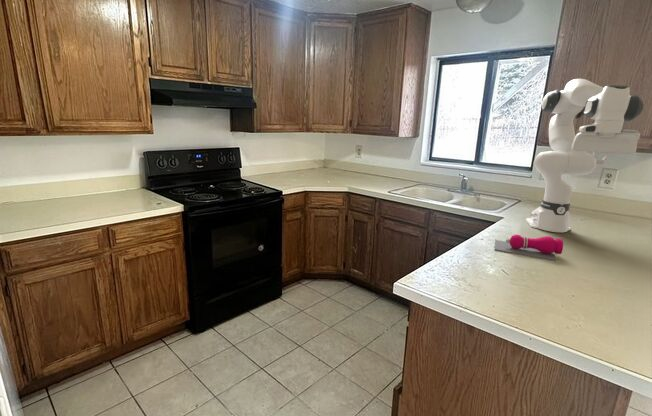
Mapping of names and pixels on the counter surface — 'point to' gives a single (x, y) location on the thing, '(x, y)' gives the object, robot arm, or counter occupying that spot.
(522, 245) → the pepper mill
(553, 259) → the mat
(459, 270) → the counter surface
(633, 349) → the counter surface
